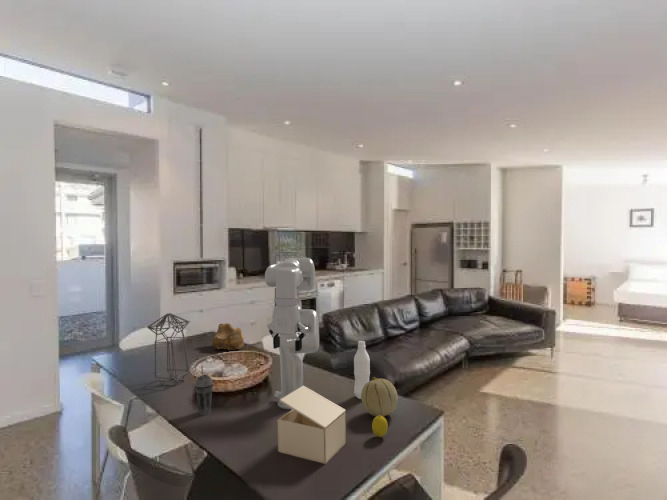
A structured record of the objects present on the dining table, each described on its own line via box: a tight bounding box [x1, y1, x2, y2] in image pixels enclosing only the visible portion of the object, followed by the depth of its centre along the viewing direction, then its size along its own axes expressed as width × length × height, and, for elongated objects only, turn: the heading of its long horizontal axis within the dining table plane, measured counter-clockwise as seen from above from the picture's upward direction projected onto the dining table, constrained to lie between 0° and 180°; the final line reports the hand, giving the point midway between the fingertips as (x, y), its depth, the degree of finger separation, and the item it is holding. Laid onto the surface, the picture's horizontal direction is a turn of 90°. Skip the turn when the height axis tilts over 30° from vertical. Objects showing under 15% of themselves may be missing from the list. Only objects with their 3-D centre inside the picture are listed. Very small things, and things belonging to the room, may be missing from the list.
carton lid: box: [280, 384, 346, 429], centre depth 149 cm, size 18×15×1 cm
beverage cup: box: [194, 365, 214, 416], centre depth 181 cm, size 7×7×20 cm
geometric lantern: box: [147, 312, 191, 385], centre depth 219 cm, size 16×16×35 cm
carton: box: [276, 409, 347, 465], centre depth 150 cm, size 18×15×11 cm
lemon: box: [371, 415, 389, 438], centre depth 157 cm, size 6×6×8 cm
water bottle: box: [353, 340, 371, 400], centre depth 196 cm, size 7×7×25 cm
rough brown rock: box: [211, 322, 245, 351], centre depth 284 cm, size 23×17×15 cm
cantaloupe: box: [360, 376, 399, 417], centre depth 176 cm, size 15×15×15 cm
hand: (287, 349), depth 161 cm, fingers open, 9 cm apart
